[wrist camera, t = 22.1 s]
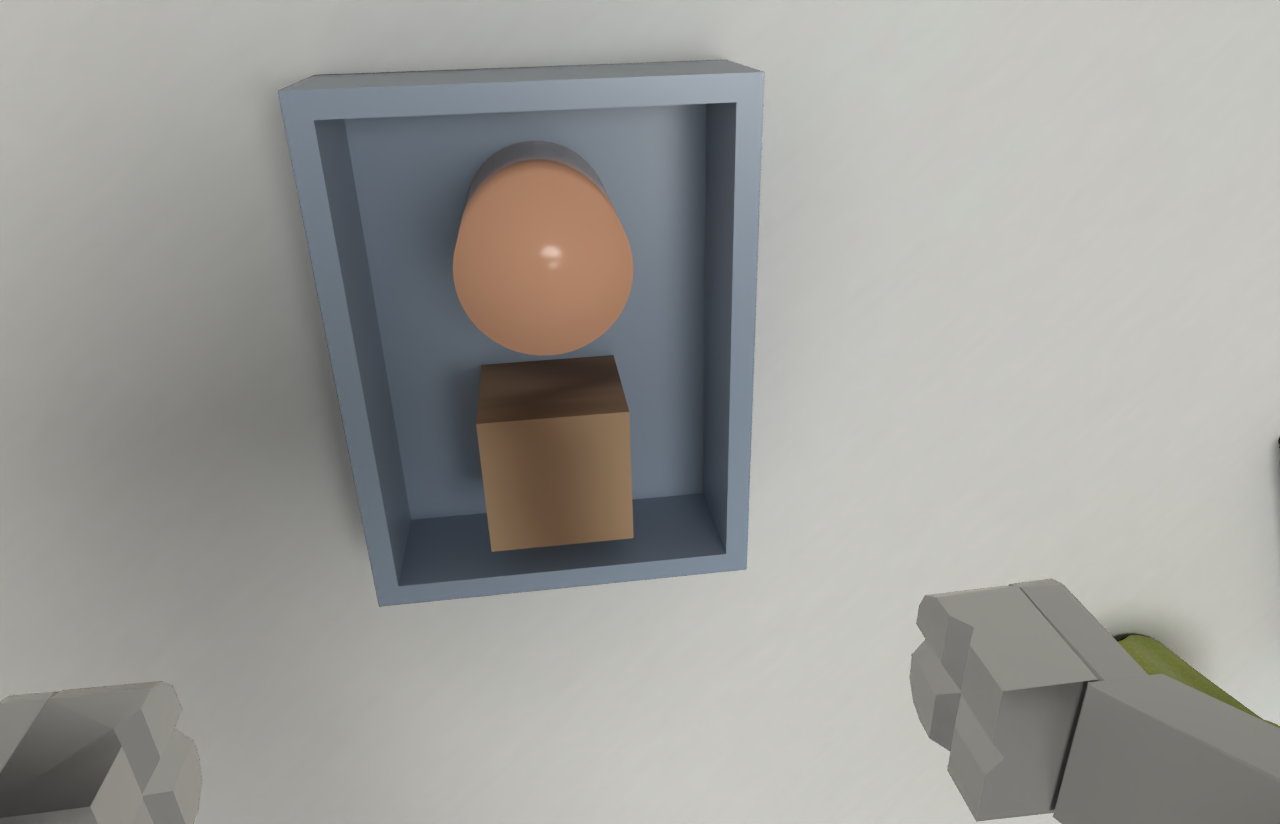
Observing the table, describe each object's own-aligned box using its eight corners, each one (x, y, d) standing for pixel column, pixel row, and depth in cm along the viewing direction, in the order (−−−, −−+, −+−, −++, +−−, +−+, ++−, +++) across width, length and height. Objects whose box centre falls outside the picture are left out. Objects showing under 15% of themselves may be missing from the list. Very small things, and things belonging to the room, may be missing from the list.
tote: (718, 500, 37) (746, 569, 33) (395, 530, 36) (379, 606, 31) (726, 59, 30) (764, 72, 25) (314, 75, 28) (277, 90, 24)
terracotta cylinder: (605, 137, 30) (630, 176, 23) (611, 278, 32) (635, 349, 26) (457, 144, 29) (442, 186, 23) (473, 287, 31) (463, 361, 25)
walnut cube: (613, 355, 33) (629, 412, 29) (618, 469, 35) (633, 538, 31) (481, 364, 33) (476, 424, 28) (494, 479, 35) (491, 551, 30)
